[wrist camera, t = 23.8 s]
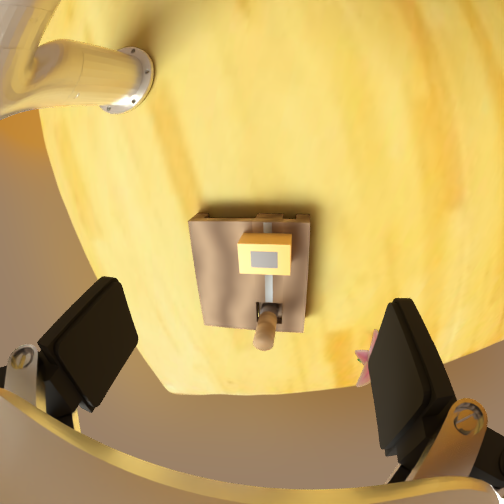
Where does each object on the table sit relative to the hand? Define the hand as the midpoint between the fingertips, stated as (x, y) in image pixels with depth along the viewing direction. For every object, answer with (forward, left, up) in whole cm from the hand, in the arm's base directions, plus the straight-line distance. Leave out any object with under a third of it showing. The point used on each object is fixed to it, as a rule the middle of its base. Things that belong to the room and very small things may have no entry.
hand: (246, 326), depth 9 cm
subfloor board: (-6, -17, -34) cm, 38 cm away
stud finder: (-3, -10, -30) cm, 32 cm away
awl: (-3, -23, -31) cm, 39 cm away
